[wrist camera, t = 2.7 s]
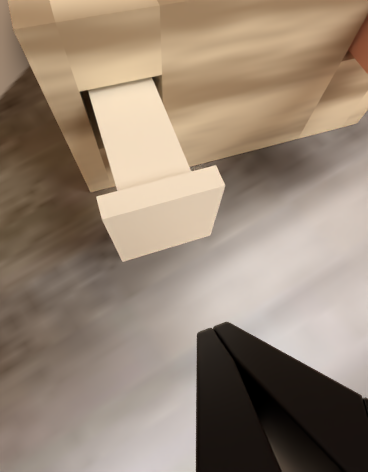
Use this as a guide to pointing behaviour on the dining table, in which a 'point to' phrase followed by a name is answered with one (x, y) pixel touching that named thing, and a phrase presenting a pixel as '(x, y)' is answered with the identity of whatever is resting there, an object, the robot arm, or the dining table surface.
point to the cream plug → (150, 174)
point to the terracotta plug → (361, 46)
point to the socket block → (198, 69)
